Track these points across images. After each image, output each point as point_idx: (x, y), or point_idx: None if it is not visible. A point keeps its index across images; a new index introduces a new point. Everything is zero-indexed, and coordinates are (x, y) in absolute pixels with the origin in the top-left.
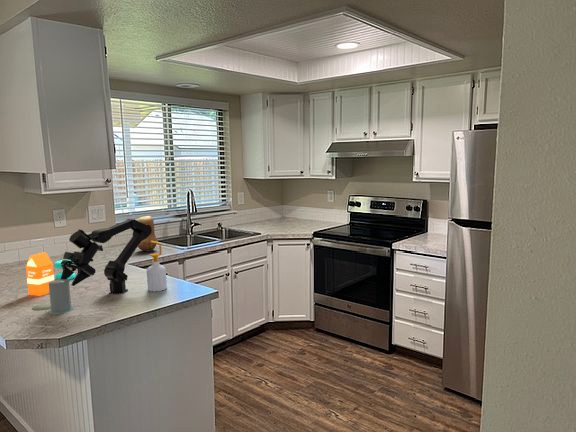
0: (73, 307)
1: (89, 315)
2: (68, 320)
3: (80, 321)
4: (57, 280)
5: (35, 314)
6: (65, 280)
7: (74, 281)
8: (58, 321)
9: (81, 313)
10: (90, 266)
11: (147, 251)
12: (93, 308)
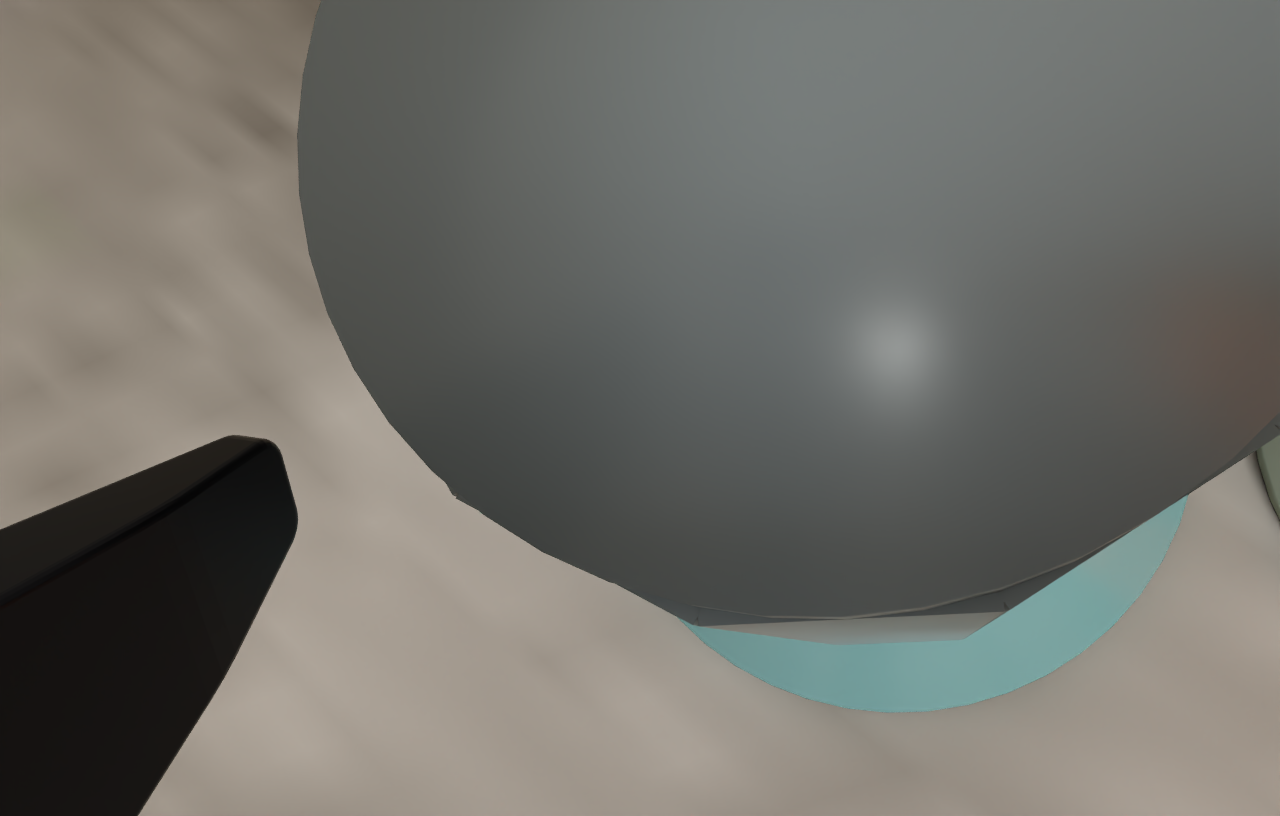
0: (715, 635)
1: (83, 457)
2: (260, 125)
3: (36, 189)
4: (1130, 167)
5: None
6: (584, 372)
7: (54, 523)
8: None
9: (305, 475)
10: None
11: None
12: (287, 813)
